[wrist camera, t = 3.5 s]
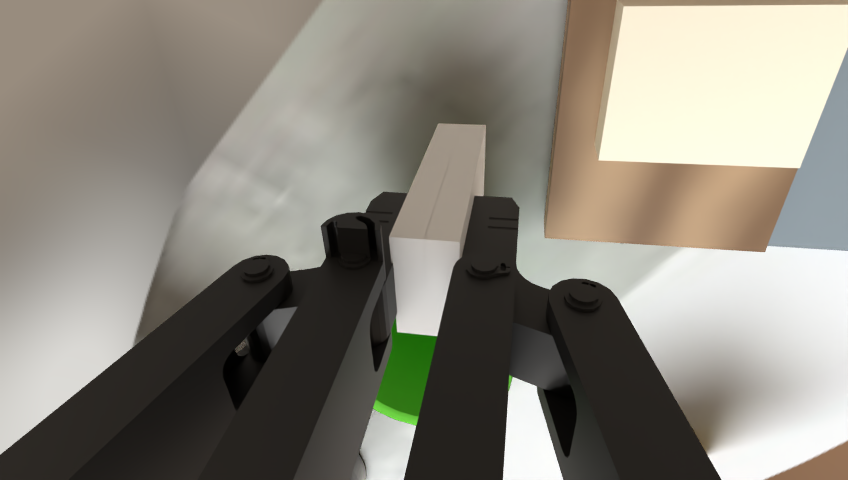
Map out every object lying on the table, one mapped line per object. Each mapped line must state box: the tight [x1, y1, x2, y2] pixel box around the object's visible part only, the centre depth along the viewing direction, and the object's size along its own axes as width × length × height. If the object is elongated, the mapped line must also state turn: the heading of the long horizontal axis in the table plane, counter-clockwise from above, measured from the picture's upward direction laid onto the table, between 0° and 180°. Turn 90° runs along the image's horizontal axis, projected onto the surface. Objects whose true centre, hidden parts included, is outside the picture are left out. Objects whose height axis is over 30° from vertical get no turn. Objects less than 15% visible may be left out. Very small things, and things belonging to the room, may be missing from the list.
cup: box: [373, 318, 512, 425], centre depth 30 cm, size 9×9×11 cm
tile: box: [594, 0, 848, 168], centre depth 24 cm, size 9×7×2 cm
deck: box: [544, 0, 798, 252], centre depth 25 cm, size 12×19×2 cm, turn 2°
